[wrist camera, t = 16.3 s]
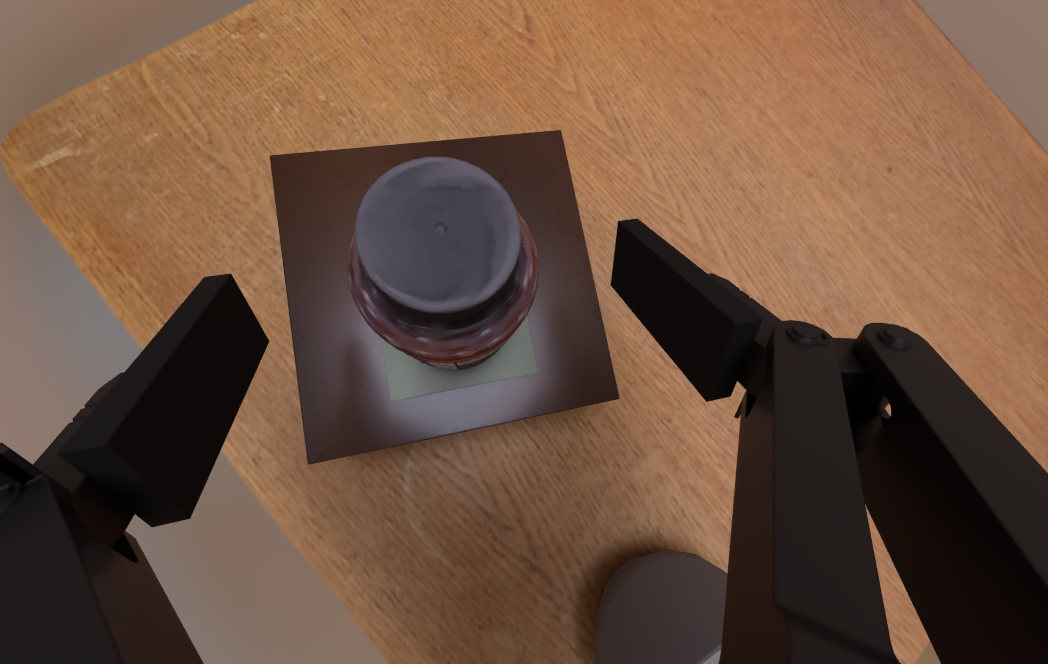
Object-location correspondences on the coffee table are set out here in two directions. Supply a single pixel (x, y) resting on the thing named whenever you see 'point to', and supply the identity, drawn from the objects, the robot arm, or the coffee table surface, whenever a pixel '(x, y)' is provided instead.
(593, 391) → the dark wooden box
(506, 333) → the supplement bottle
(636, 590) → the cup
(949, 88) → the coffee table surface
